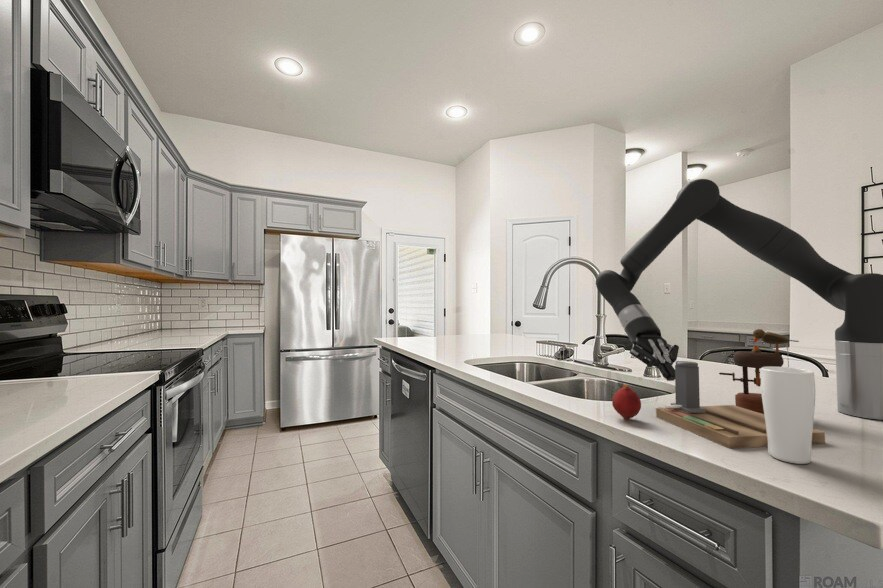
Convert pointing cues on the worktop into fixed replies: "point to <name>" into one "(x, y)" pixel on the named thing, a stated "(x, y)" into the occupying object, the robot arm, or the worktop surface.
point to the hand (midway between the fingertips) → (672, 378)
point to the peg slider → (687, 387)
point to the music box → (757, 368)
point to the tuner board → (726, 425)
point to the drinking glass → (788, 412)
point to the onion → (626, 402)
